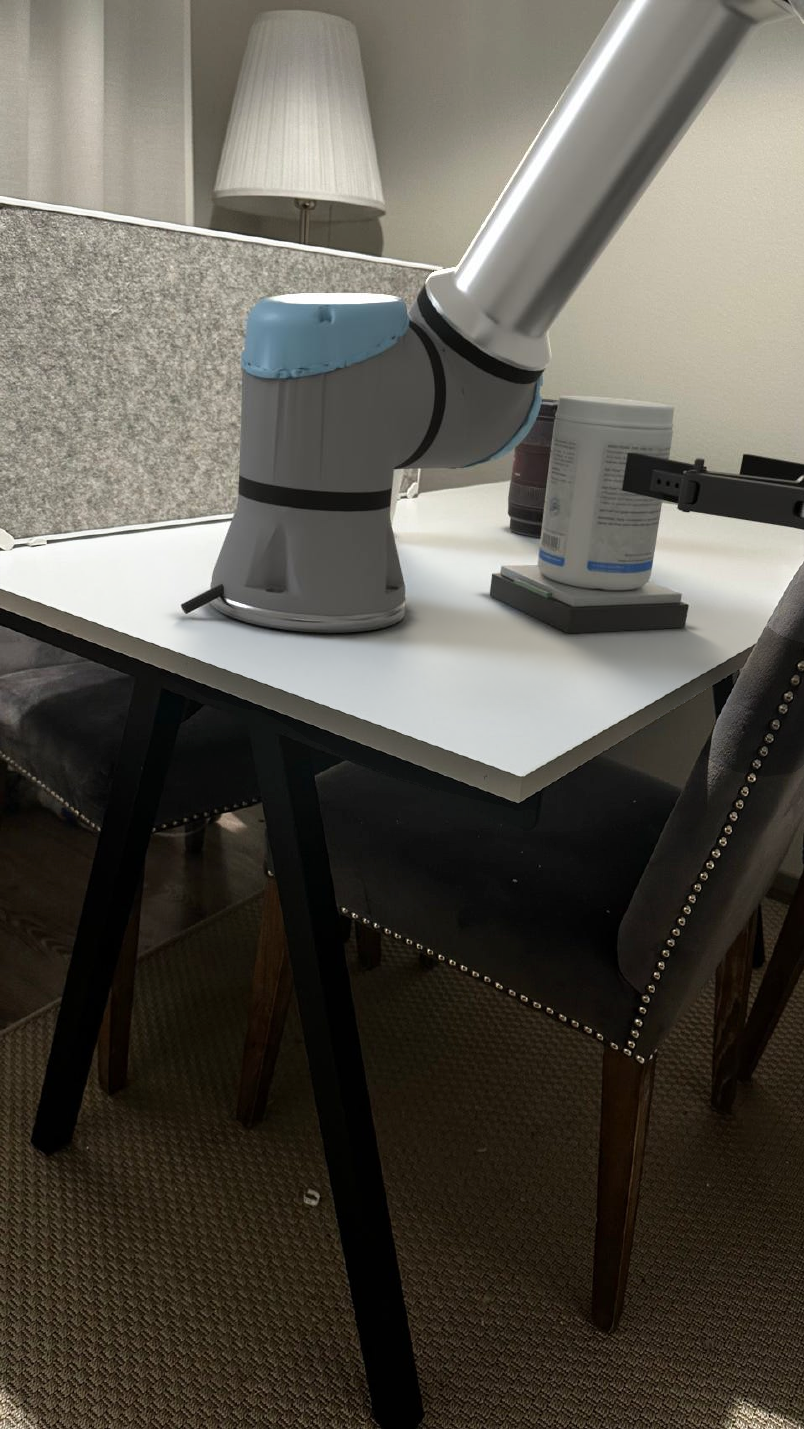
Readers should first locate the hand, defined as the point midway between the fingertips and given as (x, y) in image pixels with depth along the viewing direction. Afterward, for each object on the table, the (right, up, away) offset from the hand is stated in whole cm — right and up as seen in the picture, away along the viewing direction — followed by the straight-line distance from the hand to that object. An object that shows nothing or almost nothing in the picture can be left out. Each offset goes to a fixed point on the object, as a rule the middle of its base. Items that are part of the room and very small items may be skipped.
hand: (687, 471), depth 83 cm
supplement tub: (-6, -7, +9) cm, 13 cm away
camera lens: (-6, +3, +45) cm, 46 cm away
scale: (-6, -10, +10) cm, 15 cm away
